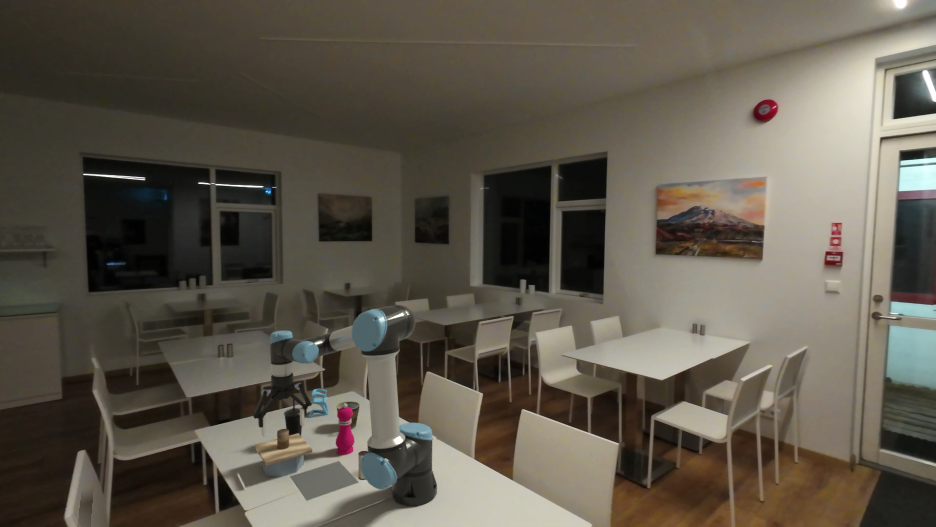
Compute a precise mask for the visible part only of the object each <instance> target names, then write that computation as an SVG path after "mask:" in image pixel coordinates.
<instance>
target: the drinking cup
mask: <svg viewBox="0 0 936 527" xmlns="http://www.w3.org/2000/svg"><path fill="white" fill-rule="evenodd" d="M295 404H296V401H295V400H294V399H293V398H292V408H289V409H286V410H285V411H284V412H283V415H284V420H285V421H284V422H285V429H288V430H289V436H290V435H294V434H298V433H299V434H300V436H301V437H302V430H303V427H302V426H301V425H300V408H301V407H296V405H295Z"/></svg>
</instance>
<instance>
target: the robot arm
mask: <svg viewBox="0 0 936 527" xmlns="http://www.w3.org/2000/svg"><path fill="white" fill-rule="evenodd" d="M416 321H417V320H416V317H415V314H414V312H413V311H412V310H411V309H410V308H409V307H407V306H405V305H402V304H393V305H387V306H383V307H377V308H371V309H369V310H367V311H363V312H361V313H360V314H358V316H357V317H356V318H355V319H354V321H353V324H352V325H350V326H347V327H344V328H341V329H337V330H334V331H332V332H327V333H324V334H321V335H320V334H319V335H318V336H317V335H316V336H313V337H309V338H303V339H295V338H294V336H293V332H292V331H291V330H277V331H273V332H272V333H271V334H270V335H269V336H270V337H269V338H270V339H269V341H270V342H269V349H270V352H269V356H270V374H271V376H270V383H271V384H270V389H265V388H263V389H262V390H261V396H260V398H259V400H258V401H257V404H256V406H255V409H254V410H253V413H252V415H251V416H252V418H254V419H257V421H258V423H257V424H258V427H259V429H260V428H261V435H262V437H263V438H265V437H267V434H266V433H267V430H266V428H267V427H266V426H267V425H266V424H267V423H266V417H265V416H266V414H267V413H268V412H269V410H270V409H271V408H272V407H273V405H274V404H275V403H276V402H277V401H282V400H285V399H286V400H287V399H288V398H291V399H292V400H293V399H294V400H295V403H297V404H298V405H300V407H299V408H300V425H301V426H302V428H304V427H305V418H306V417H307V416H308V413H307V412H308V409H309V407H312V405H313V404H312V403H311V402H312V401H311V400H310V398H309V397H308V395H307V393H306V392H305V390H304V387H303V384H302V382H297V383H296V384H294V373H293V372H294V362H295V363H300V364H311V363H314V362H315V360H317V358H320V357H323V356H326V355H329V354H335V353H337V352H339V351H344V350H346V349H351V348H354V347H356V348H357V349H358V350H360V351H361V352H360V354H361V356H362V357H364V358H365V359H366V365H367V367H366V368H367V383H368V394H369V395H368V396H369V398H368V399H369V410H370V426H371V427H370V428H371V436H370V437H369V438H368V439H367V442H366V443H367V444H366V445H367V453H364V455H363V456H362V457H361V459H360V469H361V474H362V476H363V477H364V479H365V480H366V481H367V483H368V484H369V485H370V486H372V487H373V488H375V489H378V490H385V489H387V488H389V487H391V488H392V489H391V494H392V499H393V500H394V501H395V502H397V503H399V504H401V505H405V506H413V507H414V506H420V505H424V504H428V503H430V502H431V501H433V500H434V498H435V497H436V496H437V493H438V484H437V483H438V482H437V480H436V478H435V475H434V470H433V440H434V437H433V430H432V429H431V427H430V426H428V425H427V424H425V423H424V424H423V423H419V422H405V423H402V424H400V415H399V414H400V413H399V398H398V384H397V381H398V380H397V367H396V365H397V363H396V356H397V355H398V354H399V352H400V350H401V349H400V342H401V341H404V340H406V339H407V338H409V337H410V336H412V333H414V330H415V327H416V324H417V322H416ZM295 389H296V390H298V392H299V393H300V395H301V397H302V398H303V400H304V402H305V403H304V402H303V401H302V400H301V399H299V397H297V396H296V395H295V394H294V393H293V392H294V390H295ZM270 394H271V396H270V398H269V399H268V401H267V402H266V400H267V397H268V396H269V395H270ZM264 404H265V405H264Z"/></svg>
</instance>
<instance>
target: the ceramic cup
mask: <svg viewBox="0 0 936 527" xmlns="http://www.w3.org/2000/svg"><path fill="white" fill-rule="evenodd" d="M345 403H346V404H347V407H350V408H351V409H352V411H353V415H352V417H351V419H352V420H351V421H352V422H351V424H350V428H351V430H354V429H355V428H356V426H357V422H358V416H359V411H360V403H359V402H357V401H353V400H351V401H349V400H348V401H343V402H340V403H338V404H337V405H336V412H338V410H339V409H340V408H342V407H343V404H345Z"/></svg>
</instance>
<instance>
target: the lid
mask: <svg viewBox="0 0 936 527" xmlns="http://www.w3.org/2000/svg"><path fill="white" fill-rule="evenodd" d="M276 432H277V433H276V439H272V440H271V439H270V440H267V441H263V442H260V443H256V444H254V449H255V451H256V452H257V454H258V455H259V458H261V461H262V463H263V462H264V464H265V465H266V466H267V465H271V464H274V463H278V462H281V461H284V460H288V459H291V458H295V457H298V456H302V455H304V456H305V455H308V454H311V453H313V448H312V447H311V446H310V445H309V444H308V443H307V442H306V440H305V439H304V437H302V435H301V436H300V434H299V433H298V434H294V435H290V436H289V430H288V429H286V428H281V429H278V430H277V431H276Z"/></svg>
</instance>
